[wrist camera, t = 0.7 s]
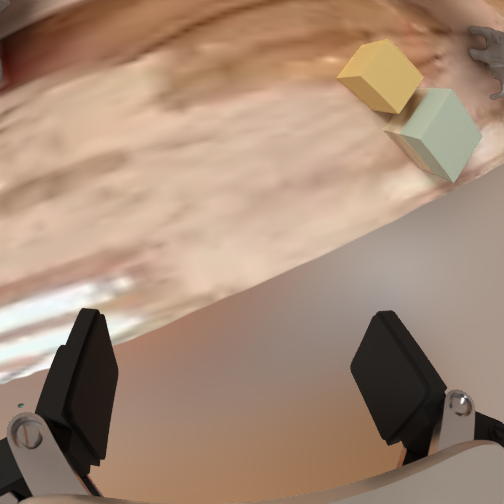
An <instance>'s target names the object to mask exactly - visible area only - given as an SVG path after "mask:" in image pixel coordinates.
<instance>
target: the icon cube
mask: <svg viewBox="0 0 504 504" xmlns="http://www.w3.org/2000/svg"><path fill="white" fill-rule="evenodd" d="M10 4H11V0H0V12H1V11H2V10H4V9H5V8H6V7H7V6H9V5H10Z"/></svg>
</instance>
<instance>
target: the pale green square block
mask: <svg viewBox="0 0 504 504" xmlns="http://www.w3.org/2000/svg"><path fill="white" fill-rule="evenodd" d="M399 134H400V135H401V136H402V137H403V138H404V139H405V140H406V141H407V142H408V143H409V145H410V146H411V147H412V148H413V149H414V150H415V151H416V153H417V154H418V155H419V156H420V157H421V158H422V160H423V161H424V162H425V163H426V164H427V166H428V167H429V168H430V169H431V170H432V172H433V173H434V174H436V175H438V176H440V177H442V178H444V179H447V180H449V181H451V182H453V183H454V182H455V181H456V179H457V178H458V176H459V174H460V173H461V171H462V170H463V168H464V166H465V165H466V163H467V162H468V160H469V158H470V157H471V155H472V153H473V152H474V150H475V148H476V146H477V145H478V143H479V141H480V139H481V138H482V135H481V133H480V131H479V129H478V128H477V126H476V124H475V123H474V121H473V120H472V118H471V116H470V115H469V113H468V112H467V110H466V109H465V107H464V106H463V104H462V103H461V101H460V100H459V98H458V97H457V95H456V94H455V93H454V91H453V90H452V89H443V88H431V87H430V89H429V90H428V92H427V93H426V95H425V97H424V98H423V100H422V101H421V103H420V104H419V106H418V107H417V109H416V110H415V112H414V113H413V114H412V116H411V117H410V119H409V120H408V122H407V123H406V125H405V126H404V128H403V129H402V131H401V132H400V133H399Z"/></svg>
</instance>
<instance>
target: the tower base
mask: <svg viewBox="0 0 504 504" xmlns="http://www.w3.org/2000/svg"><path fill="white" fill-rule="evenodd" d="M429 89H430V88H422V87H417V88H416V90H415V91H414V93H413V94H412V96H411V97H410V99H409V100H408V102H407V103H406V105H405V106H404V108H403V109H402V110H401V112H400V113H399V114H394V115H393V117H392V118H391V119H390V121H389V122H388V124H387V125H386V127H385V128H384V129H383V130H384V131H385V132H386V133H387V134H388V135H389V136H390V138H391V139H392V140H393V141H394V142H395V143H396V144H397V145H398V146H399V147H400V148H401V149H402V150H403V151H404V152H405V153H406V154H407V156H408V157H409V158H410V159H411V160H412V161H413V162H414V163H415V165H416V166H417V167H419V168H421V169H423V170H426V171H428V172H430V173H432V174H434V173H433V172H432V170H431V169H430V168H429V167H428V166H427V164H426V163H425V162H424V161H423V160H422V158H421V157H420V156H419V155H418V154H417V153H416V151H415V150H414V149H413V148H412V147H411V146H410V145H409V143H408V142H407V141H406V140H405V139H404V138H403V137H402V136H401V135H400V134H399V133H400V132H401V131H402V129H403V128H404V126H405V125H406V123H407V122H408V120H409V119H410V117H411V116H412V114H413V113H414V112H415V110H416V109H417V107H418V106H419V104H420V103H421V101H422V100H423V98H424V97H425V95H426V93H427V92H428V90H429Z"/></svg>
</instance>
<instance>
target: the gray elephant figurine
mask: <svg viewBox="0 0 504 504" xmlns="http://www.w3.org/2000/svg"><path fill="white" fill-rule="evenodd" d="M469 31H470V33H472V34H474V35H480V36H483V37H484V38H485V41H486V42H487V43H486V47H487V48H486V50H477V49H473V48H472V49H470V50H469V54H470V56H471V57H472V59H474V60H481V61H483V62H486V63H488V65H487V69H488V70H489V71H492V76H493V77H494V78H495V79H497V80H500V83H501V91H500V92H499V93H498V94H492V95H490V98H491V99H493V100H495V99H496V98H500V97H502V96H504V33H503V32H502V31H501V32H500V31H496V30H494V29H492V28H489V27H478V26H470V27H469Z"/></svg>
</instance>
